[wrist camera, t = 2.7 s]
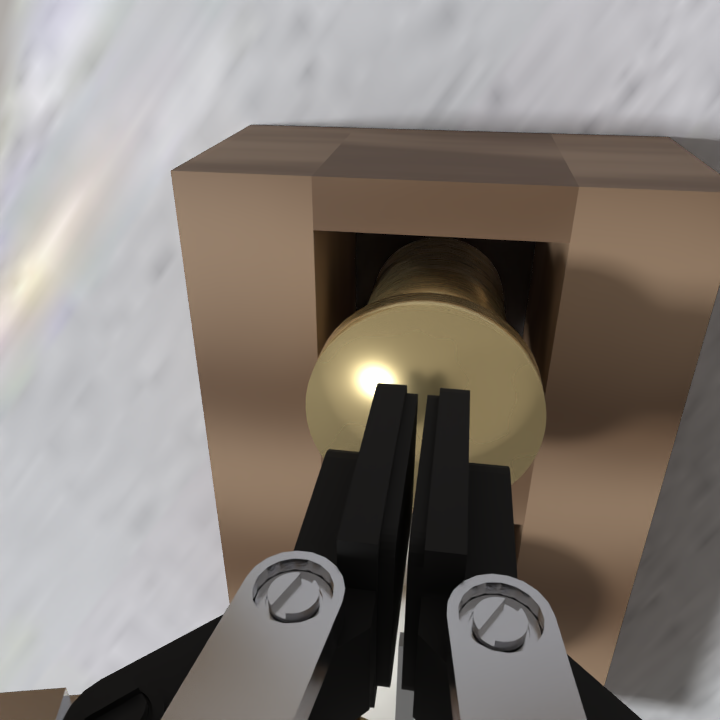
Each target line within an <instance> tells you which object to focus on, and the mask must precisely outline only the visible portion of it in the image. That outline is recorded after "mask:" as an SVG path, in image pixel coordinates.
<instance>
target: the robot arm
mask: <svg viewBox="0 0 720 720" xmlns="http://www.w3.org/2000/svg"><path fill="white" fill-rule="evenodd" d="M417 411H418V394H413V393H407V385H400V384H388V383H377V385H376V389H375V393H374V397H373V400H372V404H371V408H370V412H369V416H368V420H367V424H366V428H365V431H364V435H363V439H362V443H361V447H360V451H359V452H356V451H345V450H335V449H328V450H327V452H326V454H325V457H324V460H323V463H322V466H321V469H320V472H319V475H318V478H317V481H316V484H315V487H314V490H313V493H312V496H311V499H310V502H309V505H308V508H307V511H306V514H305V517H304V520H303V523H302V526H301V529H300V532H299V535H298V539H297V542H296V545H295V548H294V551H291V552H282V553H279V554H277V555H274V556H271V557H268V558H267V559H265V560H264V561H262V562H261V563H259V564H258V565H256V566H255V567H254V568H253V569H252V571H251V572H250V573H249V574H248V575H247V577H246V578H245V580H244V581H243V583H242V585H241V586H240V588H239V590H238V591H237V593H236V595H235V596H234V598H233V600H232V601H231V603H230V605H229V606H228V608H227V610H226V611H225V613H224V614H223V615H221V616H220V617H218V618H216V619H214V620H212V621H210V622H208V623H206V624H204V625H203V626H201V627H199V628H197V629H195V630H193V631H191V632H189V633H188V634H186V635H184V636H182V637H180V638H178V639H176V640H174V641H173V642H171V643H169V644H167V645H165V646H163V647H161V648H159V649H157V650H156V651H154V652H152V653H150V654H148V655H146V656H144V657H142V658H141V659H139V660H137V661H135V662H133V663H131V664H129V665H127V666H126V667H124V668H122V669H120V670H118V671H116V672H114V673H112V674H110V675H109V676H107V677H105V678H103V679H101V680H100V681H98V682H97V683H95V684H94V685H92V686H91V687H89V688H88V689H86V690H85V691H84V692H83V693H82V694H80V695H68V692H67V689H66V688H55V689H42V690H29V691H17V692H4V693H0V720H356V719H357V718H359V717H360V716H362V715H363V714H365V713H366V712H367V711H369V709H370V708H374V707H375V700H376V693H377V686H382V687H389V688H390V686H391V680H392V672H393V664H394V656H395V648H396V640H397V632H398V624H399V616H400V608H401V600H402V592H403V584H404V576H405V568H406V560H407V553H408V565H407V585H406V604H405V624H404V644H403V664H402V683H401V689H402V690H409V691H414V701H413V718H414V719H415V720H642V719H641V718H640V717H638V716H637V715H636V714H635V713H634V712H633V711H632V710H630V709H629V708H628V707H627V706H626V705H625V704H624V703H622V702H621V701H620V700H619V699H618V698H617V697H616V696H614V695H613V694H612V693H611V692H610V691H609V690H608V689H606V688H605V687H604V686H603V685H602V684H601V683H600V682H598V681H597V680H596V679H595V678H594V677H593V676H592V675H590V674H589V673H588V672H587V671H586V670H585V669H584V668H582V667H581V666H580V665H579V664H578V663H577V662H576V661H575V660H573V659H572V658H571V657H570V656H569V655H568V654H567V653H566V650H565V646H564V643H563V640H562V637H561V633H560V630H559V627H558V624H557V620H556V617H555V615H554V613H553V611H552V609H551V606H550V604H549V602H548V601H547V600H546V599H545V598H544V597H543V596H542V595H541V594H540V593H539V592H538V591H537V590H536V589H534V588H533V587H531V586H530V585H528V584H527V583H525V582H524V581H521V580H518V578H517V563H516V548H515V534H514V519H513V504H512V489H511V474H510V468H509V466H501V465H490V464H480V463H469V429H470V390H461V389H449V388H440V394H439V396H437V395H427V403H426V411H425V419H424V427H423V435H422V443H421V451H420V459H419V467H418V475H417V483H416V491H415V499H414V507H413V515H412V506H413V487H414V468H415V449H416V430H417ZM411 519H412V523H411ZM410 529H411V531H410ZM409 537H410V540H409ZM408 545H409V551H408Z"/></svg>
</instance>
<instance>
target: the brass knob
mask: <svg viewBox="0 0 720 720" xmlns="http://www.w3.org/2000/svg"><path fill="white" fill-rule="evenodd" d="M377 383H388V384H400V385H407V393H413V394H418V411H417V430H416V449H415V468H414V487H413V506H412V509H413V507H414V499H415V491H416V483H417V475H418V467H419V459H420V451H421V443H422V435H423V427H424V419H425V411H426V403H427V395H437V396H439V394H440V388H449V389H461V390H470V429H469V463H480V464H490V465H501V466H509V468H510V474H511V485H512V484H513V483H514V482H515V481H516V480H518V479H519V478H520V477H521V476H522V475H523V473H524V472H525V471H526V470H527V469H528V468H529V466H530V465H531V463H532V462H533V460H534V458H535V457H536V455H537V453H538V451H539V449H540V446H541V444H542V441H543V437H544V433H545V428H546V403H545V397H544V391H543V385H542V380H541V376H540V371H539V368H538V365H537V363H536V360H535V358H534V355H533V354H532V352H531V350H530V349H529V347H528V345H527V344H526V342H525V341H524V340H523V338H522V337H521V336H520V335H519V333H518V332H517V331H516V330H515V329H514V328H513V327H512V326H511V325H509V324H508V323H507V322H506V317H505V306H504V295H503V287H502V283H501V279H500V277H499V274H498V272H497V270H496V268H495V267H494V265H493V264H492V263H491V261H490V260H489V259H488V258H487V257H486V256H485V255H484V254H483V253H482V252H481V251H479V250H478V249H476V248H475V247H473V246H471V245H470V244H468V243H465V242H463V241H460V240H457V239H452V238H446V237H430V238H423V239H420V240H416V241H414V242H411V243H409V244H407V245H405V246H403V247H401V248H400V249H399V250H397V251H396V252H395V253H393V254H392V255H391V256H390V257H389V258H388V259H387V261H386V262H385V263H384V265H383V266H382V268H381V270H380V272H379V274H378V277H377V279H376V282H375V285H374V288H373V290H372V293H371V296H370V299H369V302H368V305H367V306H365V307H363V308H361V309H359V310H358V311H356V312H355V313H353V314H352V315H351V316H349V317H348V318H347V319H345V320H344V321H343V322H342V323H341V324H340V325H339V326H338V327H337V328H336V329H335V330H334V332H333V333H332V334H331V336H330V337H329V338H328V340H327V341H326V343H325V345H324V347H323V349H322V351H321V353H320V355H319V357H318V360H317V362H316V364H315V366H314V369H313V371H312V374H311V377H310V380H309V382H308V387H307V393H306V417H307V423H308V426H309V430H310V434H311V436H312V438H313V441H314V443H315V445H316V447H317V449H318V450H319V452H320V454H321V455H322V457H323V458H324V457H325V454H326V452H327V450H328V449H335V450H345V451H356V452H359V451H360V447H361V443H362V439H363V435H364V431H365V428H366V424H367V420H368V416H369V412H370V408H371V404H372V400H373V397H374V393H375V389H376V385H377Z"/></svg>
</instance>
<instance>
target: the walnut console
mask: <svg viewBox="0 0 720 720" xmlns="http://www.w3.org/2000/svg"><path fill="white" fill-rule="evenodd" d="M171 176H172V184H173V191H174V198H175V206H176V213H177V220H178V228H179V235H180V242H181V250H182V257H183V264H184V272H185V279H186V286H187V294H188V301H189V308H190V316H191V323H192V330H193V338H194V345H195V352H196V360H197V367H198V374H199V382H200V389H201V396H202V404H203V411H204V418H205V426H206V433H207V440H208V448H209V455H210V462H211V470H212V477H213V484H214V492H215V499H216V506H217V514H218V521H219V528H220V536H221V543H222V550H223V558H224V565H225V572H226V580H227V587H228V594H229V602H230V603H231V601H232V600H233V598H234V596H235V595H236V593H237V591H238V590H239V588H240V586H241V585H242V583H243V581H244V580H245V578H246V577H247V575H248V574H249V573H250V572H251V571H252V569H253V568H254V567H255V566H256V565H258V564H259V563H261V562H262V561H264V560H265V559H267V558H268V557H271V556H274V555H277V554H279V553H282V552H291V551H294V548H295V545H296V542H297V539H298V535H299V532H300V529H301V526H302V523H303V520H304V517H305V514H306V511H307V508H308V505H309V502H310V499H311V496H312V493H313V490H314V487H315V484H316V481H317V478H318V475H319V472H320V469H321V466H322V463H323V460H324V458H323V457H322V455H321V454H320V452H319V450H318V449H317V447H316V445H315V443H314V441H313V438H312V436H311V434H310V430H309V426H308V423H307V417H306V393H307V387H308V382H309V380H310V377H311V374H312V371H313V369H314V366H315V364H316V362H317V360H318V357H319V355H320V353H321V351H322V349H323V347H324V345H325V343H326V341H327V340H328V338H329V337H330V336H331V334H332V333H333V332H334V330H335V329H336V328H337V327H338V326H339V325H340V324H341V323H342V322H343V321H344V320H345V319H347V318H348V317H349V316H351V315H352V314H353V313H355V312H356V232H359V233H379V234H399V235H419V236H439V237H459V238H478V239H498V240H518V241H536V243H535V250H534V257H533V265H532V272H531V279H530V287H529V294H528V301H527V309H526V316H525V323H524V331H523V340H524V341H525V342H526V344H527V345H528V347H529V349H530V350H531V352H532V354H533V355H534V358H535V360H536V363H537V365H538V368H539V371H540V376H541V380H542V385H543V391H544V397H545V403H546V428H545V433H544V437H543V441H542V444H541V446H540V449H539V451H538V453H537V455H536V457H535V458H534V460H533V462H532V463H531V465H530V466H529V468H528V469H527V470H526V471H525V472H524V473H523V475H522V476H521V477H520V478H519V479H518V480H516V481H515V482H514V483H513V484H512V485H511V489H512V504H513V519H514V534H515V548H516V563H517V578H518V580H521V581H524V582H525V583H527V584H528V585H530V586H531V587H533V588H534V589H536V590H537V591H538V592H539V593H540V594H541V595H542V596H543V597H544V598H545V599H546V600H547V601H548V602H549V604H550V606H551V609H552V611H553V613H554V615H555V617H556V620H557V624H558V627H559V630H560V633H561V637H562V640H563V643H564V646H565V650H566V653H567V654H568V655H569V656H570V657H571V658H572V659H573V660H575V661H576V662H577V663H578V664H579V665H580V666H581V667H582V668H584V669H585V670H586V671H587V672H588V673H589V674H590V675H592V676H593V677H594V678H595V679H596V680H597V681H598V682H600V683H601V684H602V685H603V686H604V685H605V681H606V678H607V674H608V671H609V667H610V664H611V660H612V657H613V653H614V650H615V646H616V643H617V639H618V636H619V632H620V629H621V625H622V622H623V619H624V615H625V612H626V608H627V605H628V601H629V598H630V594H631V591H632V587H633V584H634V580H635V577H636V573H637V570H638V566H639V563H640V559H641V556H642V552H643V549H644V546H645V542H646V539H647V535H648V532H649V528H650V525H651V521H652V518H653V514H654V511H655V507H656V504H657V500H658V497H659V493H660V490H661V486H662V483H663V479H664V476H665V473H666V469H667V466H668V462H669V459H670V455H671V452H672V448H673V445H674V441H675V438H676V434H677V431H678V427H679V424H680V420H681V417H682V413H683V410H684V407H685V403H686V400H687V396H688V393H689V389H690V386H691V382H692V379H693V375H694V372H695V368H696V365H697V361H698V358H699V354H700V351H701V347H702V344H703V340H704V337H705V334H706V330H707V327H708V323H709V320H710V316H711V313H712V309H713V306H714V302H715V299H716V295H717V292H718V288H719V285H720V174H719V173H717V172H716V171H715V170H713V169H712V168H711V167H709V166H708V165H706V164H705V163H704V162H702V161H701V160H700V159H698V158H697V157H696V156H694V155H693V154H691V153H690V152H689V151H687V150H686V149H685V148H683V147H682V146H681V145H679V144H678V143H676V142H675V141H674V140H672V139H671V138H670V137H651V136H617V135H582V134H548V133H513V132H479V131H444V130H410V129H376V128H341V127H307V126H272V125H250V126H248V127H246V128H244V129H243V130H241V131H239V132H237V133H236V134H234V135H232V136H230V137H229V138H227V139H225V140H223V141H222V142H220V143H218V144H217V145H215V146H213V147H211V148H210V149H208V150H206V151H204V152H203V153H201V154H199V155H197V156H196V157H194V158H192V159H190V160H189V161H187V162H185V163H183V164H182V165H180V166H178V167H176V168H175V169H173V170H171ZM412 513H413V509H412ZM356 720H360V717H359V718H357V719H356Z"/></svg>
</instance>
